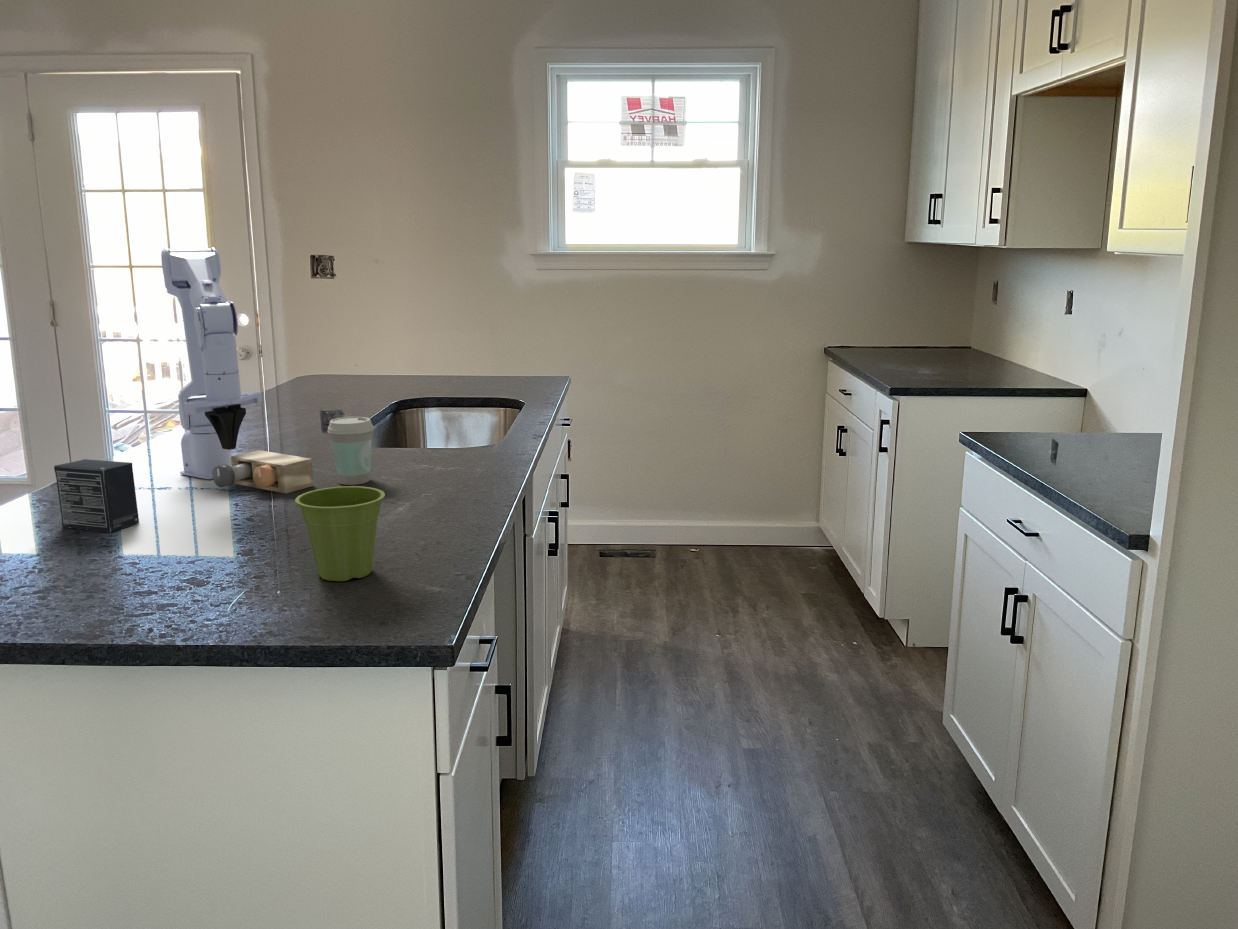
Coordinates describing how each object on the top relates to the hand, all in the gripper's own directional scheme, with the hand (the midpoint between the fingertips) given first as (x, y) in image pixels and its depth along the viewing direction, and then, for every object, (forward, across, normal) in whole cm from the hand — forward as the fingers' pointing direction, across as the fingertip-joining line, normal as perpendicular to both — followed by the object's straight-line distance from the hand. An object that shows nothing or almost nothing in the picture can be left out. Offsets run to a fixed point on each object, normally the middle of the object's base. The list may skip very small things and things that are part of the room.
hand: (229, 448), depth 172 cm
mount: (+9, +11, +2) cm, 14 cm away
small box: (+10, -22, +5) cm, 24 cm away
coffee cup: (+10, +20, -9) cm, 24 cm away
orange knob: (+8, +9, -1) cm, 12 cm away
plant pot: (+9, -18, -48) cm, 52 cm away
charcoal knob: (+8, +5, +6) cm, 12 cm away
